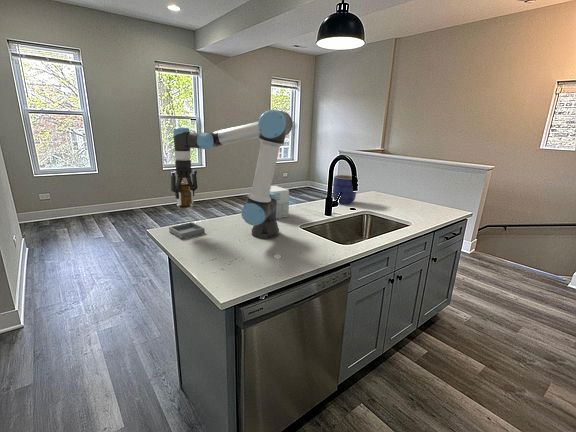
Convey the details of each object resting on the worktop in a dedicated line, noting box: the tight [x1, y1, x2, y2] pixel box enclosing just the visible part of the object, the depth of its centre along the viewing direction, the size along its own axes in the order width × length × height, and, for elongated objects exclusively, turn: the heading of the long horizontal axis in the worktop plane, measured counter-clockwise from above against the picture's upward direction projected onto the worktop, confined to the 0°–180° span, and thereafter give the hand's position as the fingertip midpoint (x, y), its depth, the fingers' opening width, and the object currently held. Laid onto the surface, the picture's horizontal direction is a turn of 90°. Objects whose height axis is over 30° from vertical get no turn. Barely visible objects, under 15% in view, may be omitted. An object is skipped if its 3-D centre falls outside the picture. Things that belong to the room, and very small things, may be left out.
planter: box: [332, 174, 359, 205], centre depth 233 cm, size 18×18×21 cm
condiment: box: [176, 182, 194, 209], centre depth 155 cm, size 7×8×12 cm
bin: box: [168, 221, 206, 240], centre depth 161 cm, size 13×13×3 cm
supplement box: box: [270, 185, 290, 220], centre depth 196 cm, size 17×13×18 cm
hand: (185, 203), depth 157 cm, fingers closed on condiment, 6 cm apart
